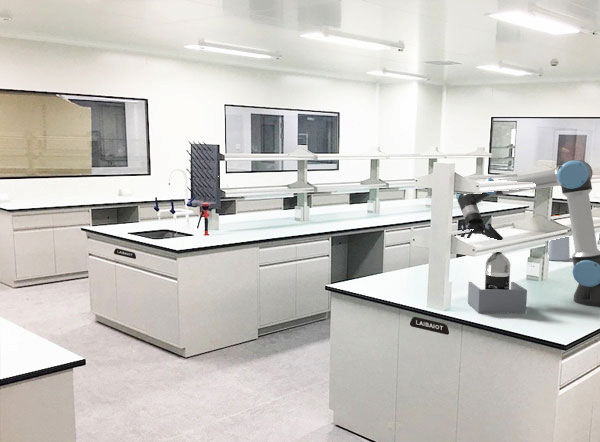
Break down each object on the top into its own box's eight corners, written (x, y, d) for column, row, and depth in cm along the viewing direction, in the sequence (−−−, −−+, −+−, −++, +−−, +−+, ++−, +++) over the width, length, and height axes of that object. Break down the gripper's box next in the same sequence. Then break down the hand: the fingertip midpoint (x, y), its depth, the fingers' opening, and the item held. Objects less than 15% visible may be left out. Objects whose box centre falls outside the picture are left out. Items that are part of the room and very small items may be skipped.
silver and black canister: (512, 308, 245) (515, 251, 242) (503, 313, 237) (505, 254, 234) (489, 304, 252) (491, 248, 249) (479, 308, 244) (481, 251, 241)
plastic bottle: (571, 261, 351) (573, 217, 348) (545, 260, 354) (547, 216, 351) (564, 257, 366) (566, 214, 363) (539, 256, 369) (541, 214, 365)
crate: (512, 303, 252) (513, 281, 251) (525, 313, 237) (527, 290, 236) (467, 303, 253) (468, 281, 251) (478, 313, 237) (479, 289, 236)
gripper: (494, 221, 269) (509, 258, 256) (444, 222, 265) (457, 259, 252) (500, 211, 263) (515, 248, 250) (449, 212, 259) (463, 249, 246)
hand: (486, 254), depth 251 cm, fingers open, 13 cm apart
